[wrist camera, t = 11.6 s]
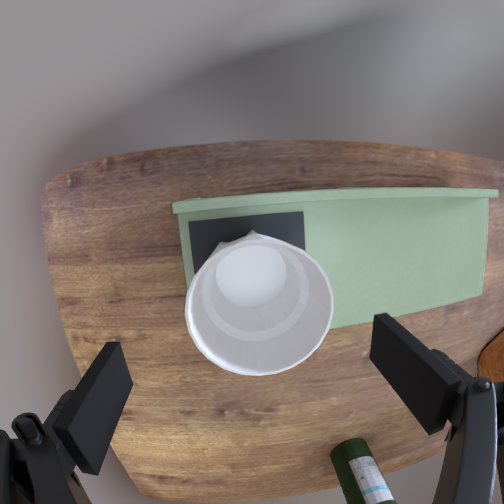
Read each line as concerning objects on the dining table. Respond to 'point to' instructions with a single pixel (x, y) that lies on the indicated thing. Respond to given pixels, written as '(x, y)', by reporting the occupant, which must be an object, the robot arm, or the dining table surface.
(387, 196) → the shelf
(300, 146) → the dining table surface
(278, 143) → the dining table surface
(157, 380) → the dining table surface
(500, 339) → the bread
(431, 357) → the robot arm
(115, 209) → the dining table surface
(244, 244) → the cup
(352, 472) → the wine bottle
